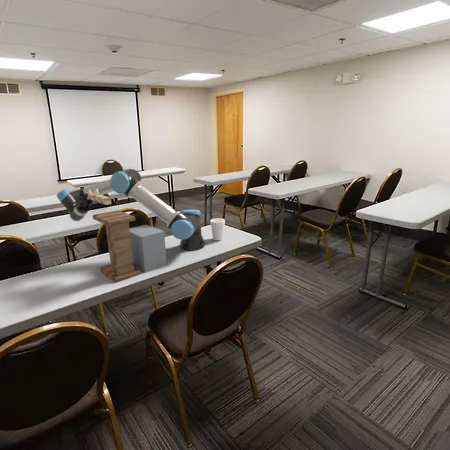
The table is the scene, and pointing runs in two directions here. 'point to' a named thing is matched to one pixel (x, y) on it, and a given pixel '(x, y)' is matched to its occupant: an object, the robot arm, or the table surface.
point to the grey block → (148, 247)
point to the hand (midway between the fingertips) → (94, 191)
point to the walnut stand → (118, 245)
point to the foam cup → (217, 228)
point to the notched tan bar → (100, 198)
